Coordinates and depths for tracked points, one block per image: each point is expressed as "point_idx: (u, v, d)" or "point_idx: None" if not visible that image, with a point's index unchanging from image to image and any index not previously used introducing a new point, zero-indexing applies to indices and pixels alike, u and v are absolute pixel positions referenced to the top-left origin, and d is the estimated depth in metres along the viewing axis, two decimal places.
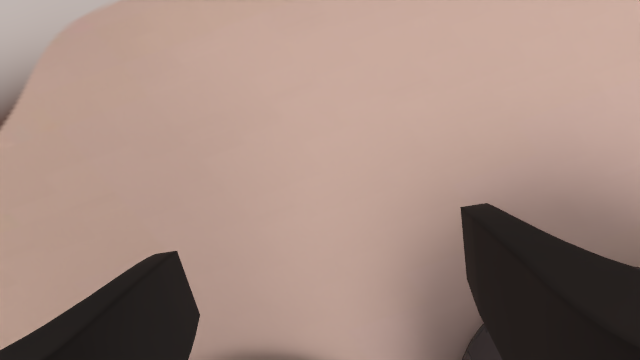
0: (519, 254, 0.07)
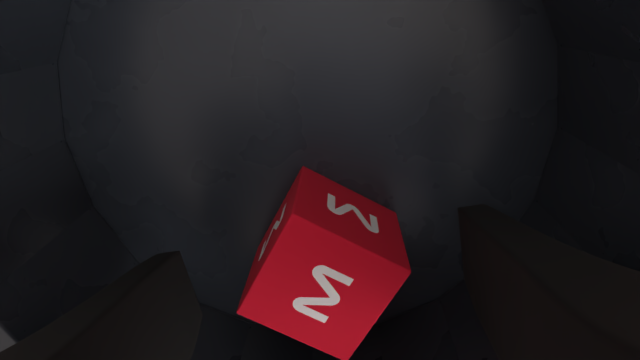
0: (515, 255, 0.07)
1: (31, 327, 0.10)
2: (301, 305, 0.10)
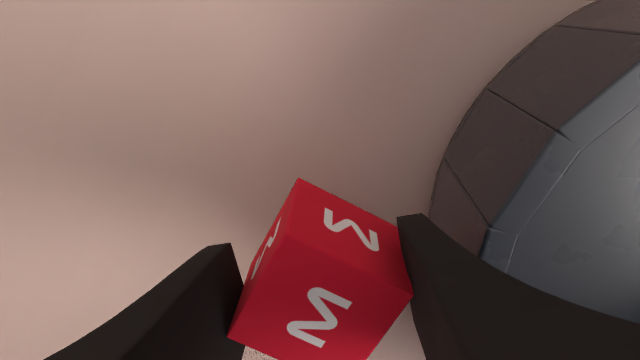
0: (427, 267, 0.07)
1: None
2: (296, 328, 0.10)
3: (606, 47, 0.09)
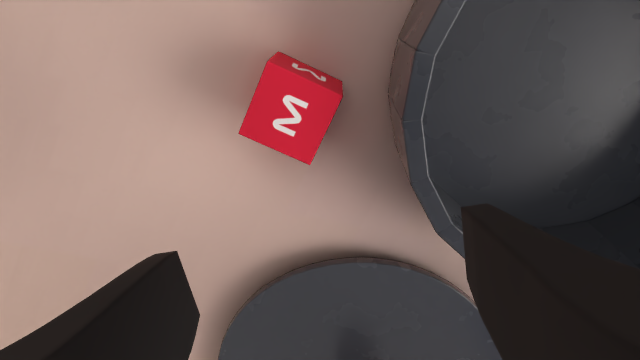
0: (519, 254, 0.07)
1: None
2: (278, 124, 0.17)
3: None
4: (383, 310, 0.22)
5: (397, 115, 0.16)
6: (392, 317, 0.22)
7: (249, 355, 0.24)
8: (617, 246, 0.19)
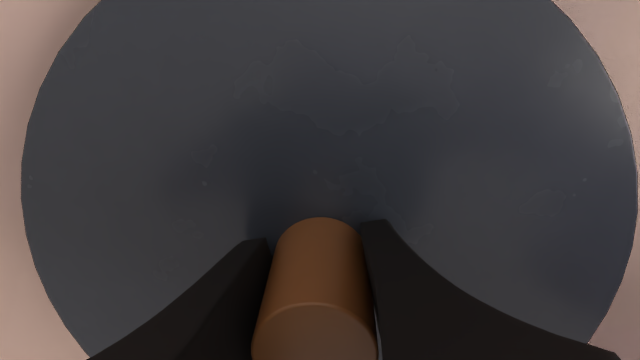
0: (376, 274, 0.08)
1: None
2: None
3: None
4: (372, 60, 0.10)
5: None
6: (393, 81, 0.10)
7: (84, 190, 0.11)
8: None
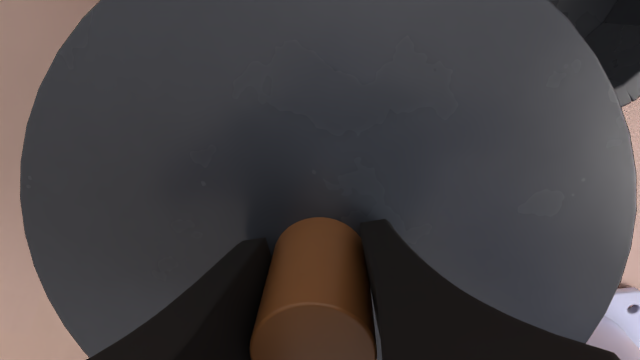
0: (376, 274, 0.08)
1: None
2: None
3: None
4: (371, 61, 0.10)
5: None
6: (391, 81, 0.10)
7: (83, 190, 0.11)
8: None
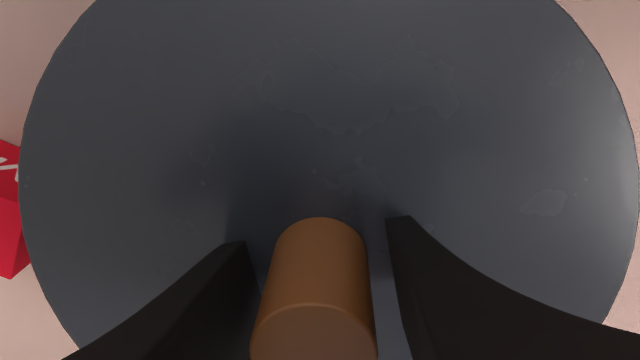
0: (410, 269, 0.07)
1: None
2: None
3: None
4: (371, 59, 0.09)
5: None
6: (393, 79, 0.10)
7: (81, 189, 0.11)
8: None
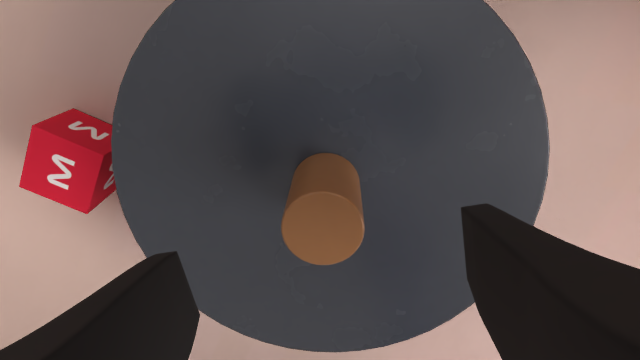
0: (519, 254, 0.07)
1: None
2: (52, 179, 0.19)
3: None
4: (361, 39, 0.14)
5: None
6: (376, 53, 0.14)
7: (157, 133, 0.15)
8: None
